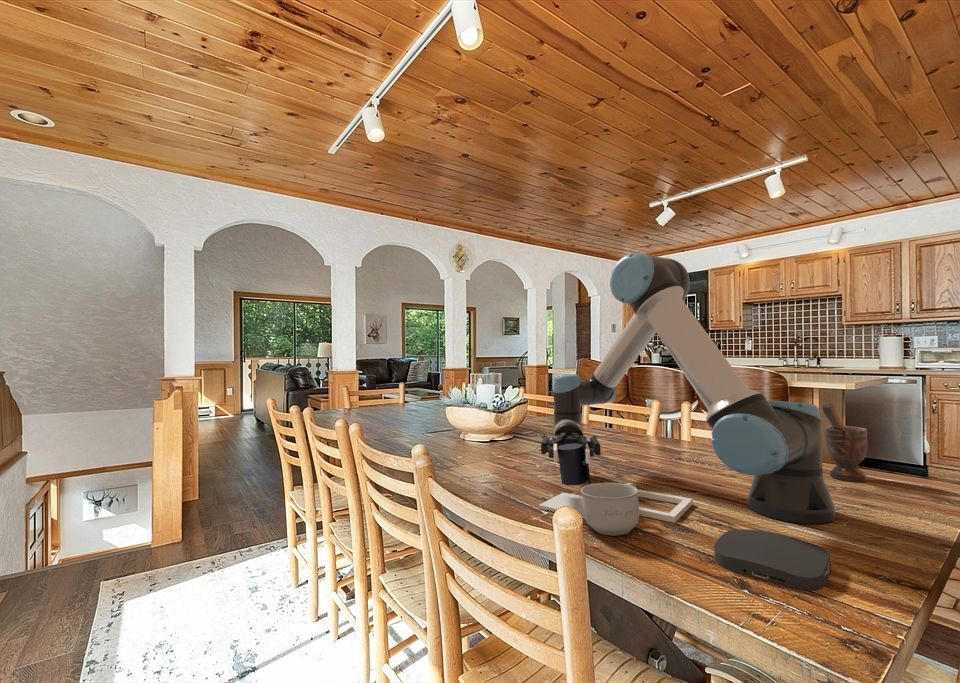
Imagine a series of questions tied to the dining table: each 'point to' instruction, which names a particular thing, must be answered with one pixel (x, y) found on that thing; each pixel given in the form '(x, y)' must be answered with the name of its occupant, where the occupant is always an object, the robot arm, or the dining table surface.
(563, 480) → the speaker
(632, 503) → the teacup
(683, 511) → the picture frame
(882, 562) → the dining table surface
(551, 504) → the mat
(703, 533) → the dining table surface
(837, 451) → the mortar and pestle
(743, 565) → the media streaming box
